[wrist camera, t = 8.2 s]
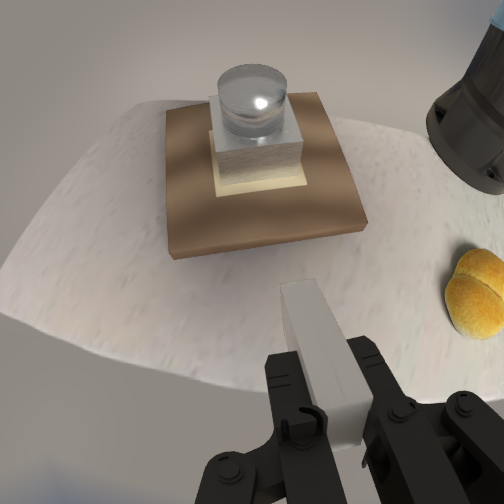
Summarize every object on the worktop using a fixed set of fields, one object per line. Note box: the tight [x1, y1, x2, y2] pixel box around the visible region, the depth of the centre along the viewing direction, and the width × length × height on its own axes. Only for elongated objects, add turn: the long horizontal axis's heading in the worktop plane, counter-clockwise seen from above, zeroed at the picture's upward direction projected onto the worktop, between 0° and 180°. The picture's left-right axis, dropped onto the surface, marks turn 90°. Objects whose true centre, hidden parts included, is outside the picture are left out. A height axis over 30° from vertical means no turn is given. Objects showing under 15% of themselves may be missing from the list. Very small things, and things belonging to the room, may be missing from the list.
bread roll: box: [445, 249, 504, 340], centre depth 23 cm, size 8×9×4 cm
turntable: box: [166, 92, 368, 260], centre depth 27 cm, size 16×16×2 cm
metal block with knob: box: [209, 64, 304, 186], centre depth 23 cm, size 6×6×8 cm
